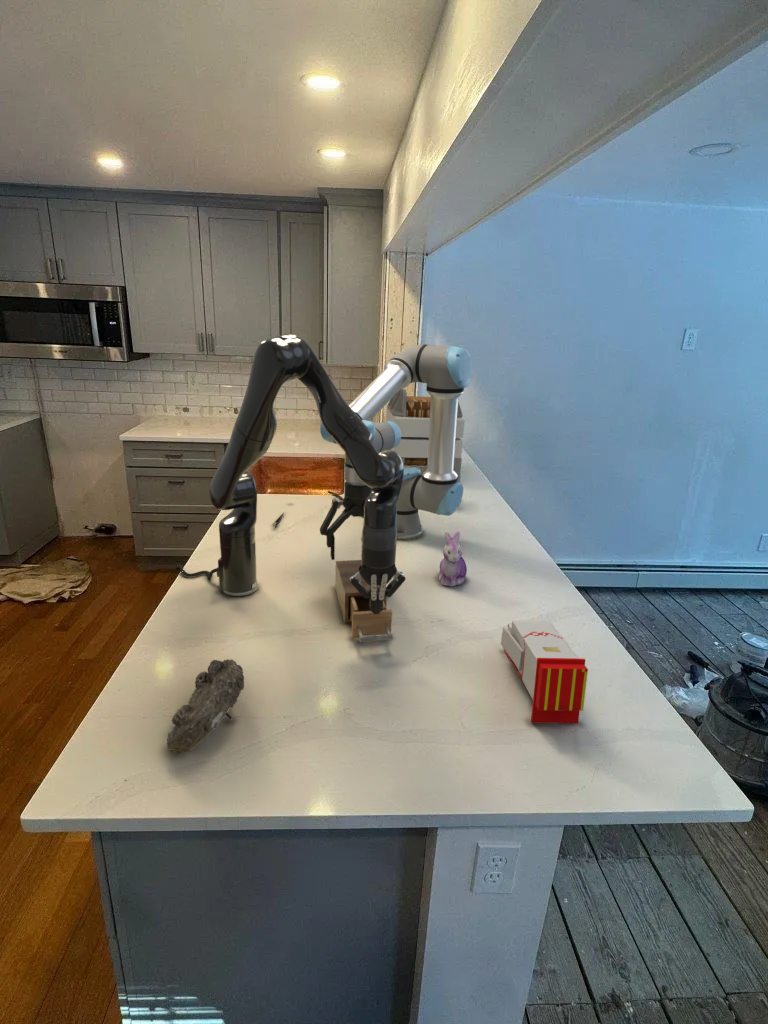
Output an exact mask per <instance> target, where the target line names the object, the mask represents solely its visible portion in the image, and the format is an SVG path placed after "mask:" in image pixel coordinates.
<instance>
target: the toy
mask: <svg viewBox="0 0 768 1024" xmlns="http://www.w3.org/2000/svg"><path fill="white" fill-rule="evenodd" d="M500 645H501V646H502V648H503V652H504V654H505V655H506V657H507V658H508V660H509V661H510V663H511V664H512V666H513V668H514V669H515V671H516V672H517V674H518V676H519V677H520V679H521V680H522V683H523V685H524V686H525V688H526V690H527V692H528V694H529V696H530V697H531V699H532V708H531V719H530V722H531V723H532V724H579V719H580V712H583V711H584V706H585V697H586V689H587V680H588V671H589V669H588V667H587V666H586V659H585V658H580V657H579V656H578V655H577V654H576V652H575V651H574V650H573V648H572V647H571V646H570V645H569V644H568V642H567V641H566V640H565V638H564V637H563V636H562V634H561V633H560V632H559V631H558V630H557V628H556V627H555V626H554V624H553V623H552V622H551V621H549V620H548V621H545V620H540V621H539V620H511V622H508V623H507V626H502V632H501V638H500Z"/></svg>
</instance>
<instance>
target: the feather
mask: <svg viewBox="0 0 768 1024" xmlns="http://www.w3.org/2000/svg"><path fill="white" fill-rule="evenodd" d="M290 505H291V503H290ZM284 514H285V512H283V513H282V514H281V515H279V516H278V518H277V519H276V520H275V521H274V522H273V525H274V529H276V528H277V526H278V525H279V522H280V521H281V519H282V517H283V515H284Z"/></svg>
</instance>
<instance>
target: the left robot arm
mask: <svg viewBox="0 0 768 1024" xmlns="http://www.w3.org/2000/svg"><path fill="white" fill-rule="evenodd" d="M295 379H298V380H299V381H300V382H301V383H302V384H303V385H304V386H305V387H306V388H307V389H308V391H309V392H310V393H311V395H312V396H313V399H314V402H315V405H316V407H317V412H318V415H319V418H320V422H321V423H323V425H324V427H325V429H326V430H327V432H328V433H329V434H330V436H331V437H332V438H333V439H334V440H335V441H336V443H337V444H336V445H338V446H339V448H341V450H342V451H343V452H344V454H345V453H346V455H347V457H348V459H349V461H350V463H351V465H352V467H353V469H354V471H355V472H356V474H357V476H358V477H359V479H360V480H361V481H362V482H363V483H364V484H365V485H366V486H368V487H370V488H372V491H371V493H370V495H369V496H368V497H367V499H366V501H365V504H364V517H363V523H362V524H363V525H362V530H361V537H360V540H361V553H360V554H361V556H360V560H361V565H360V567H359V572H357V573H356V574H355V575H353V574H352V575H350V576H349V578H350V581H351V583H352V585H353V586H354V587H355V588H356V589H357V590H358V591H359V593H360V594H361V595H362V596H363V597H364V598H365V599H367V598H369V599H370V604H369V608H370V610H371V612H373V615H374V614H380V612H382V610H383V599H384V598H385V597H387V598H391V597H392V596H393V595H394V594H395V593H396V591H398V589H399V588H400V587H401V586H402V585H403V583H404V582H405V581H406V576H405V574H404V573H403V572H402V571H399V570H398V568H397V566H396V555H397V540H396V539H397V531H396V517H397V502H398V498H399V495H400V491H401V487H402V482H403V476H404V468H405V465H404V466H403V462H402V459H401V457H400V456H399V455H398V454H397V453H396V452H394V451H392V450H384V451H381V452H379V453H377V451H376V450H375V448H374V447H373V445H372V444H371V441H372V438H373V436H372V433H371V431H370V430H369V428H368V427H367V426H366V425H365V424H364V422H363V421H362V420H361V419H360V418H359V417H358V416H357V414H356V413H355V412H354V411H353V410H352V409H351V408H350V406H349V404H348V403H347V401H346V400H345V399H344V398H343V397H344V396H342V394H341V393H340V392H339V390H338V388H337V387H336V386H335V384H334V382H333V381H332V379H331V377H330V376H329V374H328V372H327V371H326V370H325V368H324V366H323V364H322V363H321V362H320V360H319V358H318V356H317V355H316V353H315V352H314V351H313V349H312V348H311V346H310V345H309V344H308V342H307V341H306V340H305V339H304V338H303V337H302V336H300V335H299V334H295V333H288V334H282V335H277V336H273V337H270V338H266V339H265V340H263V341H262V342H260V344H258V346H257V347H256V350H255V352H254V355H253V359H252V364H251V369H250V373H249V378H248V383H247V388H246V390H245V393H244V397H243V400H242V403H241V406H240V408H239V412H238V415H237V416H236V419H235V422H234V425H233V428H232V431H231V434H230V438H229V441H228V444H227V446H226V449H225V451H224V454H223V456H222V458H221V461H220V463H219V465H218V466H217V468H216V470H215V472H214V474H213V476H212V479H211V481H210V484H209V499H210V502H211V505H212V506H213V507H214V508H215V509H217V510H219V511H230V510H231V511H230V512H229V513H228V514H227V515H226V516H224V517H223V518H222V519H221V520H219V523H218V532H219V547H220V548H219V549H220V557H219V558H218V559H217V567H216V568H213V569H211V570H210V571H209V570H201V571H196V572H193V573H192V572H191V573H189V572H186V571H185V569H184V567H183V565H177V566H176V568H175V569H176V570H177V571H178V570H180V573H181V574H182V575H183V576H184V577H188V578H193V577H197V576H200V575H201V576H202V575H207V576H206V577H207V579H208V580H210V579H212V578H213V574H214V573H216V577H217V578H218V585H219V592H220V593H223V594H225V595H227V596H230V597H246V596H248V595H251V594H254V593H255V592H256V591H257V590H258V577H257V576H258V574H257V572H258V571H257V548H256V547H257V546H256V523H257V519H258V517H257V516H258V488H257V487H258V486H257V483H256V480H255V478H254V476H253V474H252V473H251V472H249V471H248V470H249V469H251V468H252V467H253V466H254V465H255V464H256V463H257V462H258V461H259V460H260V459H262V458H263V457H264V456H265V454H266V453H267V452H268V450H269V449H270V446H271V444H272V443H273V438H274V437H275V434H276V432H277V429H278V428H277V427H278V421H277V416H276V413H275V409H274V404H275V400H276V399H277V396H278V394H279V391H280V389H281V388H282V386H283V385H284V384H285V383H287V382H290V381H292V380H295ZM183 569H184V570H183ZM182 571H183V572H182ZM361 576H362V578H363V579H364V580H365V582H366V583H367V584H368V585H369V591H368V590H367V589H366V588H365V587H364V586H363V585H362V584H361ZM377 586H378V587H377ZM376 591H377V593H376Z"/></svg>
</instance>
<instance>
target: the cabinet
mask: <svg viewBox="0 0 768 1024" xmlns="http://www.w3.org/2000/svg"><path fill="white" fill-rule="evenodd" d="M360 565H361V559H352V560H351V559H350V560H336V561H335V566H334V567H335V569H334V570H335V575H334V579H335V581H334V589H335V593H336V596H337V600H338V603H339V607H340V611H341V614H342V619H343V621H344V622H343V623H344V624H347V623H352V622H351V618H350V615H349V612H348V608H349V596H362V595H361V594H360V593H359V591H358V590H357V589H356V588H355V587H354V586H353V585H352V583H351V581H350V578H349V576H350V575H352V574H353V575H355V574H356V573H357V572H359V567H360ZM361 584H362V585H363V586H364V587H365V588H366V589H367V590H368V591H369V585H368V584H367V583H366V582H365V580H364V579H363V578H362V576H361ZM377 587H378V586H377ZM376 593H377V591H376ZM387 599H388V597H385V598H384V599H383V601H384V604H385V606H386V607H387Z"/></svg>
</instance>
